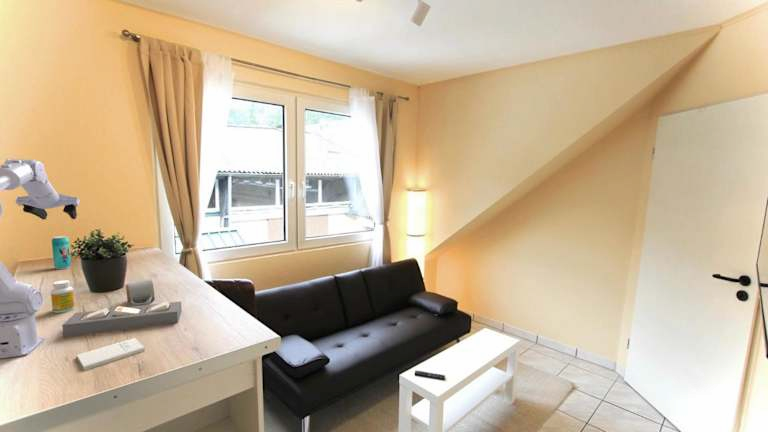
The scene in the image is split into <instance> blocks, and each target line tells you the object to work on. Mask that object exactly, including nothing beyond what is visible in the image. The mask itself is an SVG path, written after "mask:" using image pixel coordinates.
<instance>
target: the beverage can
mask: <svg viewBox="0 0 768 432" xmlns="http://www.w3.org/2000/svg"><path fill="white" fill-rule="evenodd" d="M51 238H52V239H51V245H52V246H51V247H52V248H51V249H52V258H53V266H54V268H55V270H67V269H69V268H70V267H71V264H72V263H71V250H70V249H71V248H70V240H69V238H68V235H57V236H52V237H51ZM68 253H70V255H68Z"/></svg>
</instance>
